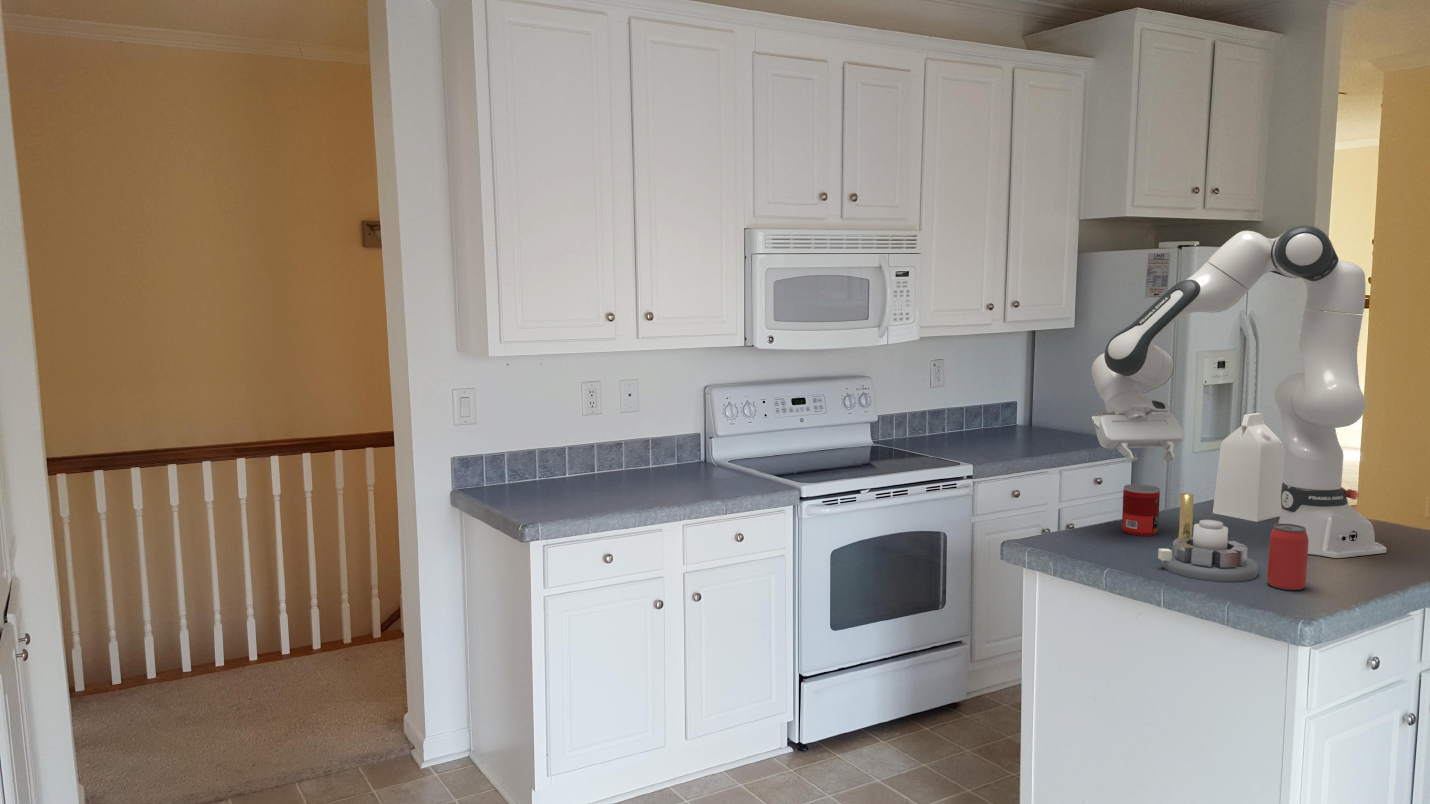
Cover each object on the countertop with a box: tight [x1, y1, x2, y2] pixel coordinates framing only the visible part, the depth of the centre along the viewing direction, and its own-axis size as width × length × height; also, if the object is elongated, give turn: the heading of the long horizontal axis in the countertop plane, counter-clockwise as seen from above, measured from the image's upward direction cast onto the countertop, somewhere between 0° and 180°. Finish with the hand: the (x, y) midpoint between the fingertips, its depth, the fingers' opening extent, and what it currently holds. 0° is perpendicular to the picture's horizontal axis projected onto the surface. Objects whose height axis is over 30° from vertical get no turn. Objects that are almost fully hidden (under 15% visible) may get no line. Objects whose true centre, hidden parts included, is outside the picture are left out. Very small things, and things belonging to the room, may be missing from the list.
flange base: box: [1157, 519, 1259, 583], centre depth 209 cm, size 19×18×10 cm
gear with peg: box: [1172, 492, 1248, 568], centre depth 210 cm, size 17×13×12 cm
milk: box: [1212, 412, 1284, 523], centre depth 256 cm, size 12×12×26 cm
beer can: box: [1266, 523, 1309, 591], centre depth 196 cm, size 7×7×12 cm
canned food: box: [1121, 483, 1161, 537], centre depth 239 cm, size 8×8×11 cm
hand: (1152, 460), depth 228 cm, fingers open, 8 cm apart
